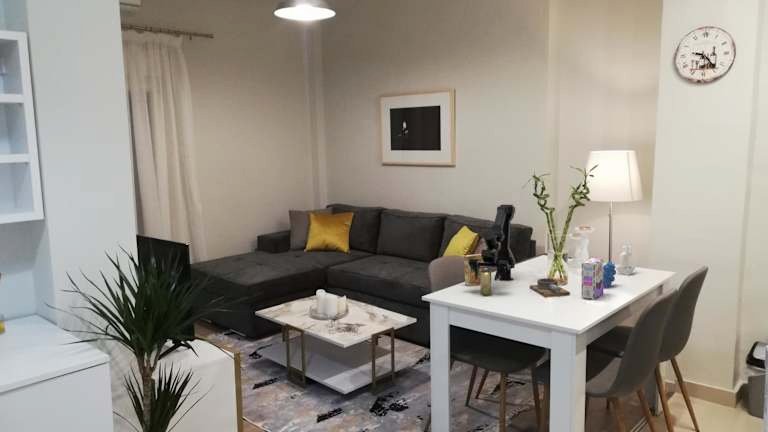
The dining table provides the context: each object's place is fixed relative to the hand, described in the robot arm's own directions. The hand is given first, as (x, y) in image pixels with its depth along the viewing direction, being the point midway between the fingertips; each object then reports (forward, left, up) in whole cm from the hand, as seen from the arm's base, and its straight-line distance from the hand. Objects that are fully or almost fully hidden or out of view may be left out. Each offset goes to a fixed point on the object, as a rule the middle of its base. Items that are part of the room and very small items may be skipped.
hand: (485, 279), depth 271 cm
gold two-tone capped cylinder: (0, 0, -7) cm, 7 cm away
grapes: (+1, +60, -8) cm, 61 cm away
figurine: (-21, +83, -8) cm, 86 cm away
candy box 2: (+16, +45, -8) cm, 48 cm away
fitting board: (+3, +30, -7) cm, 31 cm away
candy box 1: (-22, +1, -8) cm, 24 cm away
